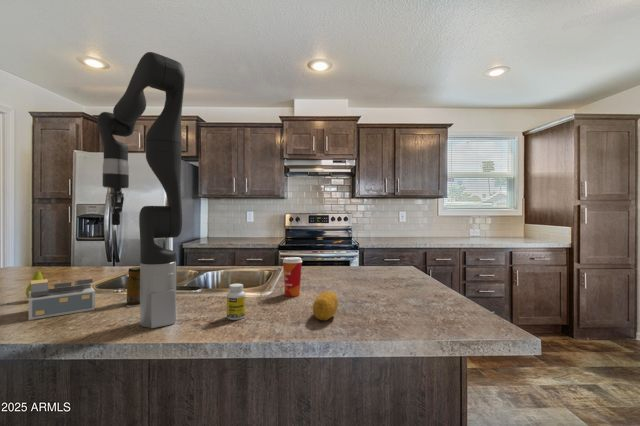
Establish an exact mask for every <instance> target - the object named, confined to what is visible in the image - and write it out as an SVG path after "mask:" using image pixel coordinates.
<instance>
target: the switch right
mask: <svg viewBox="0 0 640 426" xmlns="http://www.w3.org/2000/svg"><path fill="white" fill-rule="evenodd" d="M73 283H74V284H73V286H79V285H87V284H93V283H94V281H93V278H89V279H82V280H74V282H73Z"/></svg>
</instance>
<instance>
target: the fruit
mask: <svg viewBox="0 0 640 426" xmlns="http://www.w3.org/2000/svg"><path fill="white" fill-rule="evenodd" d="M41 269H42V265H39V270H38V271H36V272H35V274H34V275H33V277H32V279H31V281H33V280H43V279H44V277H43V274H42V272H41ZM29 292H31V282H29V284H28V286H27V287H26V290H25V294H26V295H25V296H26V297H27V298H28V299H29Z"/></svg>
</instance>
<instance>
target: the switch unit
mask: <svg viewBox="0 0 640 426" xmlns="http://www.w3.org/2000/svg"><path fill="white" fill-rule="evenodd" d="M48 289H49V294H47V295H39V296H31V292H29V298H28V321H32V320H38V319H44V318H50V317H58V316H64V315H69V314H76V313H83V312H87V311H88V312H89V311H94V310H96V290H95V289H94V288H93V286H92V283H90V284H85V285H76V286H74V285H73V286H72V285H71V286H68V287H59V288H54V287H53V288H48Z"/></svg>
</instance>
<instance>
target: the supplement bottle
mask: <svg viewBox="0 0 640 426" xmlns="http://www.w3.org/2000/svg"><path fill="white" fill-rule="evenodd" d="M228 288H229V292H228V293H227V294H226V318H227V319H228V320H231V321H236V320H242V319H244V318H245V317H246V292H245V291H243V290H244V284H242V283H232V284H229V286H228Z"/></svg>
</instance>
